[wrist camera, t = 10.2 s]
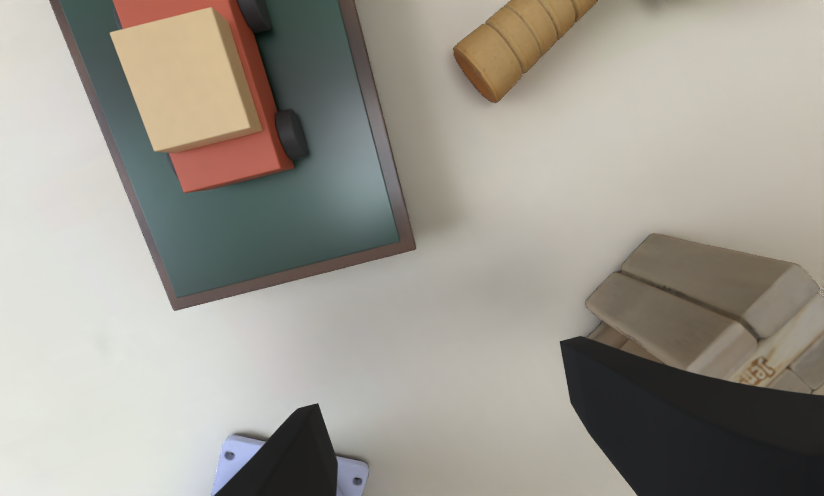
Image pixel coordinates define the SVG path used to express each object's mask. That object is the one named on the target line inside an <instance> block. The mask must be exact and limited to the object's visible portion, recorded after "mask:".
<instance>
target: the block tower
mask: <svg viewBox="0 0 824 496" xmlns="http://www.w3.org/2000/svg"><path fill="white" fill-rule="evenodd" d="M819 290H820V288H819V286H818V285H817V283H816V282H815V281H814V280H813V279H812V277H811V276H810V275H809V274H808V273H807V272H806V271H805V270H804V269H803V268H802V267H801V266H800V265H798V264H795V263H791V262H786V261H781V260H777V259H772V258H767V257H762V256H757V255H753V254H748V253H744V252H739V251H734V250H730V249H725V248H720V247H715V246H710V245H705V244H701V243H696V242H691V241H687V240H682V239H678V238H673V237H668V236H664V235H658V234H651V235H650V236H649V237H648V238H647V239H646V240H645V241H644V242H643V243H642V244H641V245H640V246H639V247H638V248H637V249H636V250H635V251H634V252H633V253H632V255H631V256H630V257H629V258H628V259H627V260H626V261H625V262H624V263H623V265H622V271H621V273H619V272H613V273H612V274H611V275H610V276H609V277H608V278H607V279H606V280H605V281H604V282H603V283H602V284H601V285H600V287H599V288H598V289H597V290H596V291H595V292H594V293H593V294H592V295H591V296H590V297H589V298H588V300H587V301H586V307H587V308H588V309H589V310H590V311H591V312H592V313H593V314H595V315H596V316H597V317H598V318H599V319H600V320H602V321H603V322H602V323H601V324H600V325H599V326H598V327H597V328H596V329H595V330H594V331H593V332H592V333H591V334H590V335H589V336H588V337H587V338H589V339H592V340H595V341H598V342H600V343H603V344H606V345H609V346H612V347H614V348H617V349H620V350H623V351H625V352H628V353H631V354H634V355H637V356H640V357H643V358H646V359H649V360H652V361H655V362H658V363H661V364H665V365H668V366H671V367H675V368H678V369H682V370H685V371H689V372H693V373H696V374H700V375H705V376H709V377H713V378H718V379H722V380H727V381H731V382H736V383H742V384H747V385H752V386H758V387H765V388H771V389H778V390H784V391H791V392H799V393H807V394H815V395H824V297H823V296H822V295H821V294H819V293H818V292H819Z"/></svg>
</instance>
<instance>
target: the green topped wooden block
mask: <svg viewBox="0 0 824 496" xmlns="http://www.w3.org/2000/svg"><path fill="white" fill-rule="evenodd" d="M49 1H50V4H51V6H52V9H53V11H54V14H55V16H56V19H57V21H58V24H59V26H60V29H61V31H62V34H63V36H64V39H65V41H66V44H67V46H68V49H69V51H70V54H71V56H72V59H73V61H74V64H75V66H76V69H77V71H78V73H79V76H80V78H81V81H82V83H83V86H84V88H85V91H86V93H87V96H88V98H89V101H90V103H91V106H92V108H93V111H94V113H95V116H96V118H97V121H98V123H99V126H100V128H101V131H102V133H103V136H104V138H105V141H106V143H107V146H108V148H109V151H110V153H111V156H112V158H113V161H114V163H115V166H116V168H117V171H118V173H119V176H120V178H121V181H122V183H123V186H124V188H125V191H126V193H127V196H128V198H129V201H130V203H131V206H132V208H133V211H134V213H135V216H136V218H137V221H138V223H139V226H140V228H141V231H142V233H143V236H144V238H145V241H146V243H147V246H148V248H149V251H150V253H151V256H152V258H153V261H154V263H155V266H156V268H157V271H158V273H159V276H160V278H161V281H162V283H163V286H164V288H165V291H166V293H167V296H168V298H169V301H170V303H171V306H172V308H173V310H174V311H176V310H180V309H184V308H188V307H192V306H196V305H200V304H204V303H208V302H212V301H216V300H220V299H223V298H227V297H231V296H235V295H239V294H243V293H247V292H251V291H255V290H259V289H263V288H267V287H271V286H275V285H279V284H282V283H286V282H290V281H294V280H298V279H302V278H306V277H310V276H314V275H318V274H322V273H326V272H330V271H334V270H338V269H342V268H345V267H349V266H353V265H357V264H361V263H365V262H369V261H373V260H377V259H381V258H385V257H389V256H393V255H397V254H401V253H404V252H408V251H412V250H415V249H416V245H415V241H414V237H413V233H412V229H411V225H410V221H409V217H408V213H407V209H406V205H405V201H404V197H403V193H402V189H401V185H400V181H399V177H398V173H397V169H396V165H395V161H394V157H393V153H392V149H391V145H390V141H389V137H388V133H387V129H386V125H385V121H384V117H383V113H382V109H381V105H380V101H379V97H378V93H377V89H376V85H375V81H374V77H373V73H372V69H371V65H370V61H369V57H368V53H367V49H366V45H365V41H364V37H363V33H362V29H361V25H360V21H359V17H358V13H357V9H356V5H355V1H354V0H265V3H266V6H267V9H268V13H269V17H270V22H271V28H270V29H269V30H266V31H262V32H258V33H254V32H253V33H254V36H255V40H256V43H257V46H258V50H259V53H260V56H261V59H262V63H263V66H264V69H265V72H266V76H267V79H268V82H269V86H270V89H271V92H272V95H273V99H274V102H275V105H276V109H277V112H279V111H283V110H287V109H293V110H294V112H295V113H296V115H297V117H298V119H299V121H300V123H301V126H302V129H303V132H304V135H305V139H306V143H307V149H308V154H307V157H304V158H300V159H296V160H292V161H293V164H294V169H291V170H287V171H283V172H279V173H275V174H271V175H267V176H263V177H259V178H255V179H251V180H247V181H243V182H239V183H235V184H231V185H227V186H224V187H220V188H216V189H212V190H205V191H197V192H190V193H184V192H183V189H182V187H181V184H180V181H179V180H178V178H177V177H176V176H175V174H174V173H173V171H172V169H171V167H170V165H169V163H168V160H167V156H166V152H155V151H154V149H153V147H152V144H151V142H150V139H149V136H148V134H147V131H146V128H145V126H144V123H143V120H142V118H141V115H140V112H139V110H138V107H137V104H136V102H135V99H134V96H133V94H132V91H131V88H130V86H129V83H128V80H127V78H126V75H125V73H124V70H123V67H122V65H121V62H120V59H119V57H118V54H117V51H116V49H115V46H114V43H113V41H112V38H111V35H110V32H113V31H117V30H119V28H118V26H117V23H116V20H115V17H114V6H115V5H114V3H113V0H49Z"/></svg>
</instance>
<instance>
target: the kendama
mask: <svg viewBox="0 0 824 496" xmlns="http://www.w3.org/2000/svg"><path fill="white" fill-rule="evenodd" d="M597 1H598V0H511V1H509V2H508V3H507V4H506V5H505V6H504V7H503V8H501V9H500V10H499V11H498V12H496V13H495V14H494V15H493V16H492V17H490V18H489V19H488V20H487V21H486V23H485V24H482V25H481V26H479V27H478V28H477V29H476V30H474V31H473V32H472V33H471V34H469V35H468V36H467V37H465V38H464V39H463V40H462V41H460V42H459V43H458V44H457V45H456V46H455V47H454V48H453V50H454V56H455V59H456V61H457V63H458V64H459V66H460V67H461V69H462V71H463V72H464V74H465V75H466V76H467V78H468V79H469V80H470V81H471V83H472V84H473V85H474V87H475V88H476V89H477V90H478V91H479V92H480V93H481V94H482V95H483V96H484V97H485V98H486V99H488V100H489V101H491V102H493V103H497V102H498V101H499V100H501V98H502V97H503V96H504V95H505V94H506V93H507V92H508V91H509V90H510V89H511V88H512V87H513V86H514V85H515V84H516V82H517V81H518V80H519V79H520V78H521V77H522V74H524V73H526V72H527V71H528V70H529V69H530V68H531V67H532V66H533V65H534V64H535V63H536V62H537V61H538V59H539V58H540V57H541V56H542V55H543V54H544V53H545V52H547V51H548V50H549V49H550V48H551V47H552V46H553V45H554V43H555V42H556V41H557V40H559V39H560V38H561V37H562V36H563V35H564V34H565V33H566V32H567V31H568V30H569V29H570V28H571V27H572V26H573V25H574V22H577V21H578V20H579V19H580V18H581V17H582V16H583V15H584V14H585V13H586V12H587V11H588V10H589V9H590V8H591V7H592V6H593V5H594V4H595V3H596V2H597Z"/></svg>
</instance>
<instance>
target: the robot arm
mask: <svg viewBox="0 0 824 496" xmlns="http://www.w3.org/2000/svg"><path fill="white" fill-rule="evenodd" d="M560 346H561V351H562V357H563V362H564V368H565V374H566V379H567V385H568V390H569V396H570V401H571V404H572V406H573V408H574V409H575V411H576V413H577V414H578V416H579V418H580V420H581V421H582V423H583V424H584V426H585V428H586V429H587V431H588V433H589V434H590V435H591V437H592V438H593V439H594V441H595V442H596V443H597V444H598V446H599V447H600V448H601V450H602V451H603V452H604V453H605V455H606V456H607V457H608V459H609V460H610V461H611V462H612V464H613V465H614V466H615V467H616V469H617V470H618V471H619V473H620V474H621V475H622V476H623V478H624V479H625V480H626V481H627V483H628V484H629V485H630V486H631V488H632V489H633V490H634V491H635V493H636V494H637V495H638V496H824V395H815V394H807V393H799V392H791V391H784V390H778V389H771V388H765V387H758V386H752V385H747V384H742V383H736V382H731V381H727V380H722V379H718V378H713V377H709V376H705V375H700V374H696V373H693V372H689V371H685V370H682V369H678V368H675V367H671V366H668V365H665V364H661V363H658V362H655V361H652V360H649V359H646V358H643V357H640V356H637V355H634V354H631V353H628V352H625V351H623V350H620V349H617V348H614V347H612V346H609V345H606V344H603V343H600V342H598V341H595V340H592V339H589V338H585V337H582V336H579V337H575V338H571V339H567V340H563V341H560ZM228 452H233V453H234V455H231V454H229V453H228ZM368 475H369V467H368V465H367V464H366V463H365V462H362V461H357V460H352V459H348V458H343V457H338V456H336V455H335V452H334V449H333V446H332V443H331V440H330V437H329V434H328V431H327V428H326V425H325V422H324V419H323V416H322V413H321V410H320V407H319V404H318V403H317V404H313V405H309V406H305V407H301V408H298V409H297V410H295V411H294V412H293V413H292V414H291V415H290V416H289V417H288V418H287V420H286V421H285V422H284V423H283V424H282V425H281V426H280V427H279V428H278V429H277V430H276V432H275V433H274V434H273V435H272V436H271V437H270V438H269V439H268V440H267V441H266V442H265V441H261V440H256V439H251V438H246V437H241V436H236V435H231V436H228V437H227V438H226V439H225V441H224V443H223V445H222V448H221V453H220V457H219V462H218V466H217V471H216V475H215V480H214V484H213V489H212V493H211V496H362V495H363V491H364V488H365V485H366V481H367V478H368ZM356 477H359V478H361V479H360V480H356V479H354V478H356Z"/></svg>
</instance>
